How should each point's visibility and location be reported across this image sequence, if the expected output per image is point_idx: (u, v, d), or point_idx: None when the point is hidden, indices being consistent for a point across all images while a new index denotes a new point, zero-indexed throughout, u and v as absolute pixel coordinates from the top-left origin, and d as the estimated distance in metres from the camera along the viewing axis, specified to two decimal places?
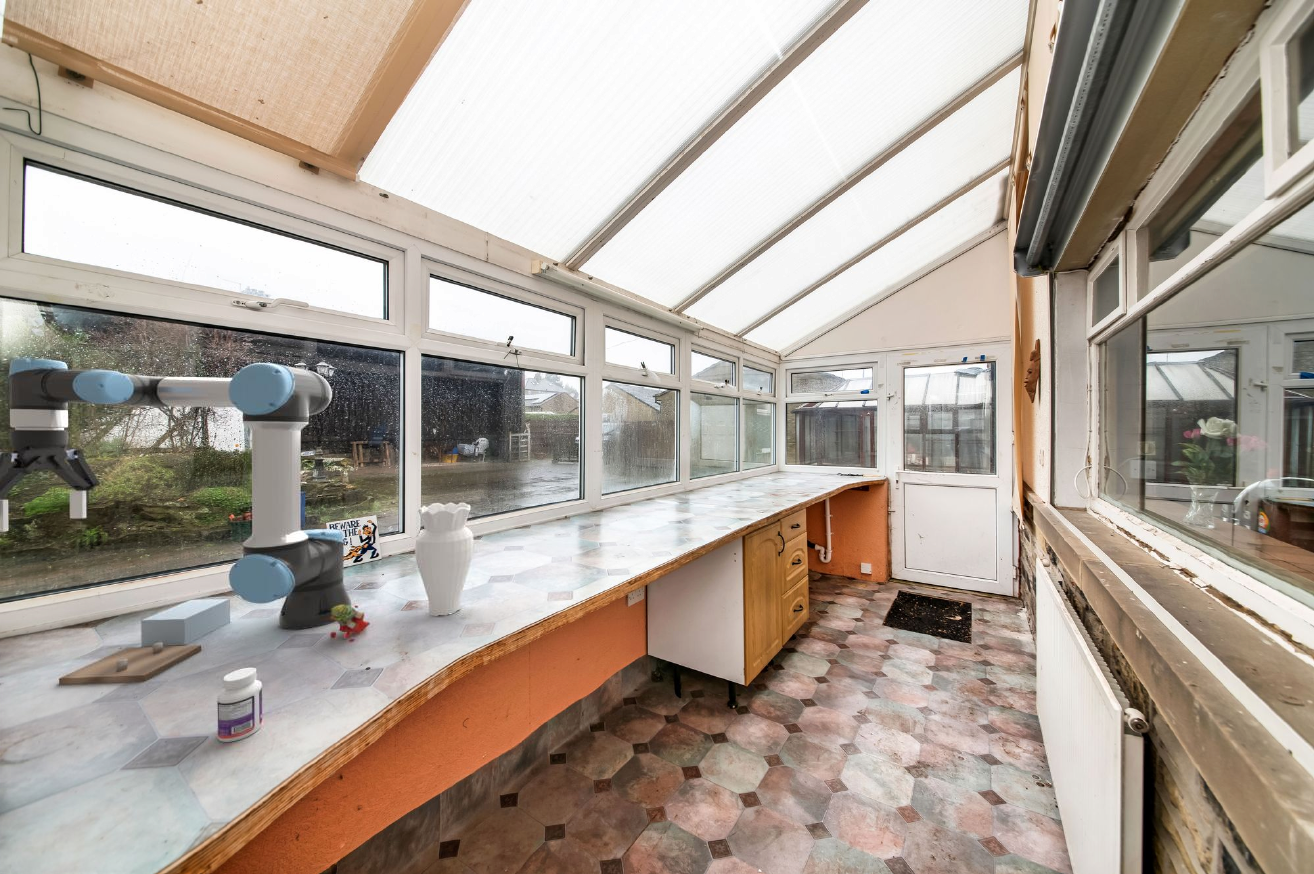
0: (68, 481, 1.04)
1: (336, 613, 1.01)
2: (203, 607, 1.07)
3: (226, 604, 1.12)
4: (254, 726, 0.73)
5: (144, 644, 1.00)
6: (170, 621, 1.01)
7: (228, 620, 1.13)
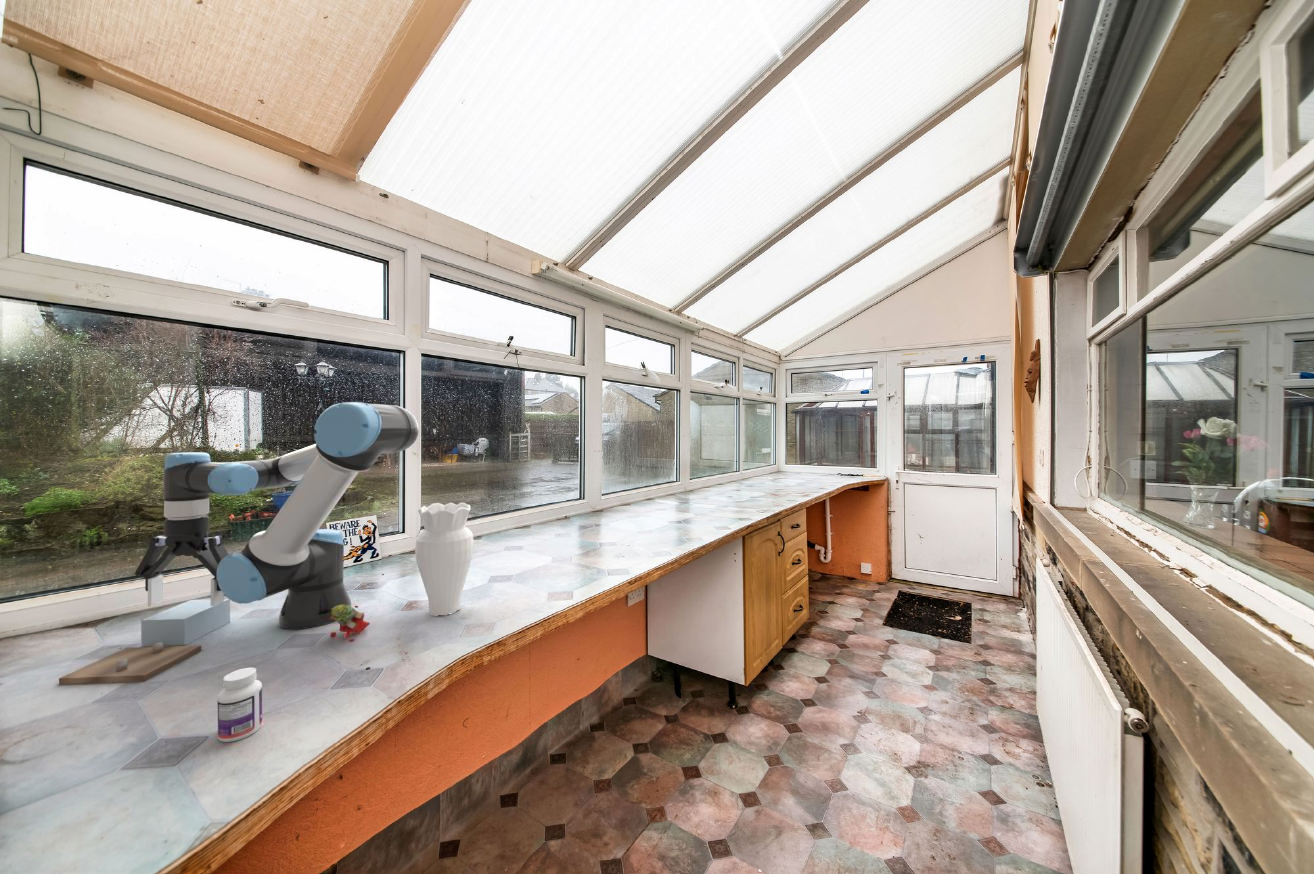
0: None
1: (336, 613, 1.01)
2: (203, 607, 1.07)
3: (226, 604, 1.12)
4: (254, 726, 0.73)
5: (144, 644, 1.00)
6: (170, 621, 1.01)
7: (228, 620, 1.13)
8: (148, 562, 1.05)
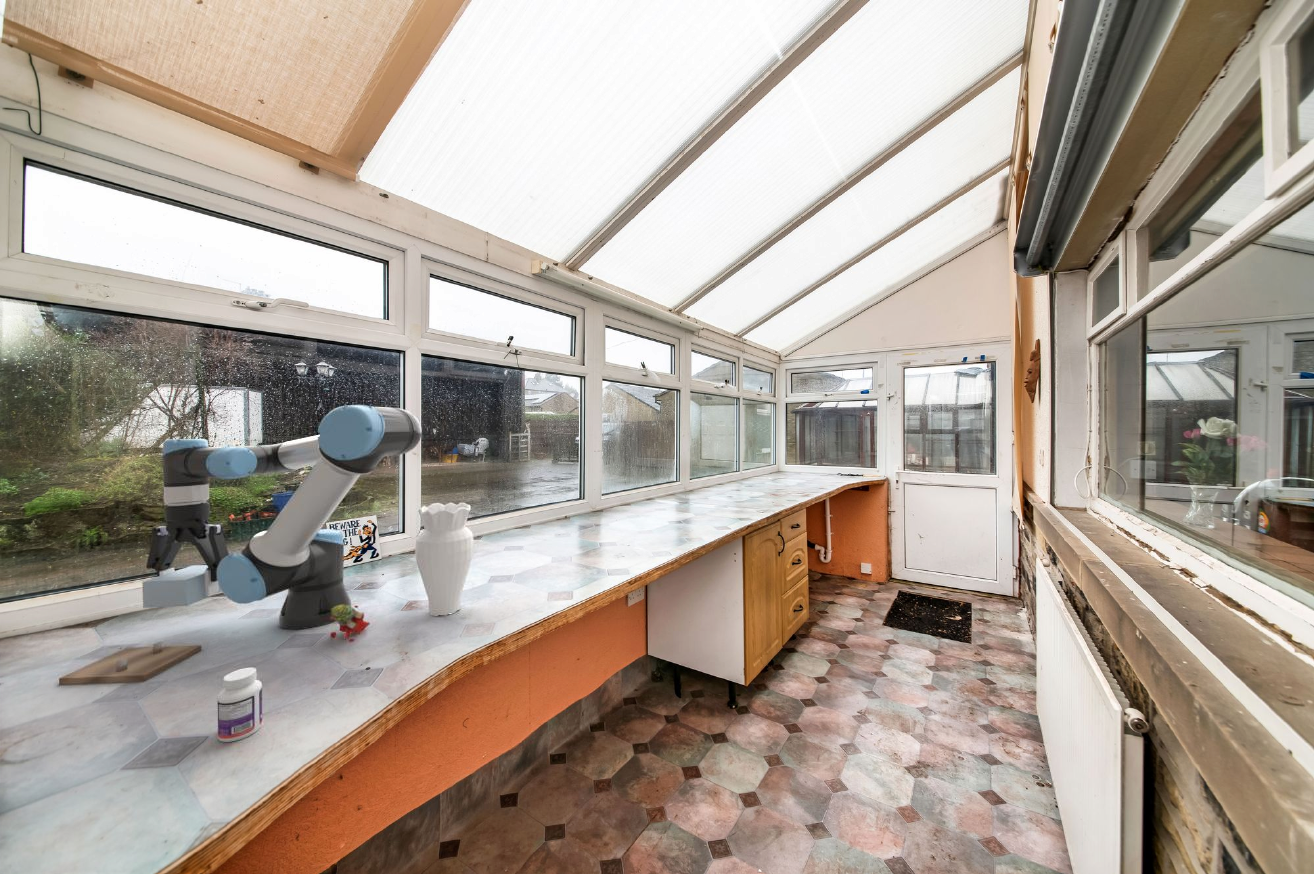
0: None
1: (336, 613, 1.01)
2: (204, 571, 1.07)
3: None
4: (254, 726, 0.73)
5: (146, 606, 1.00)
6: (171, 582, 1.01)
7: None
8: (156, 553, 1.05)
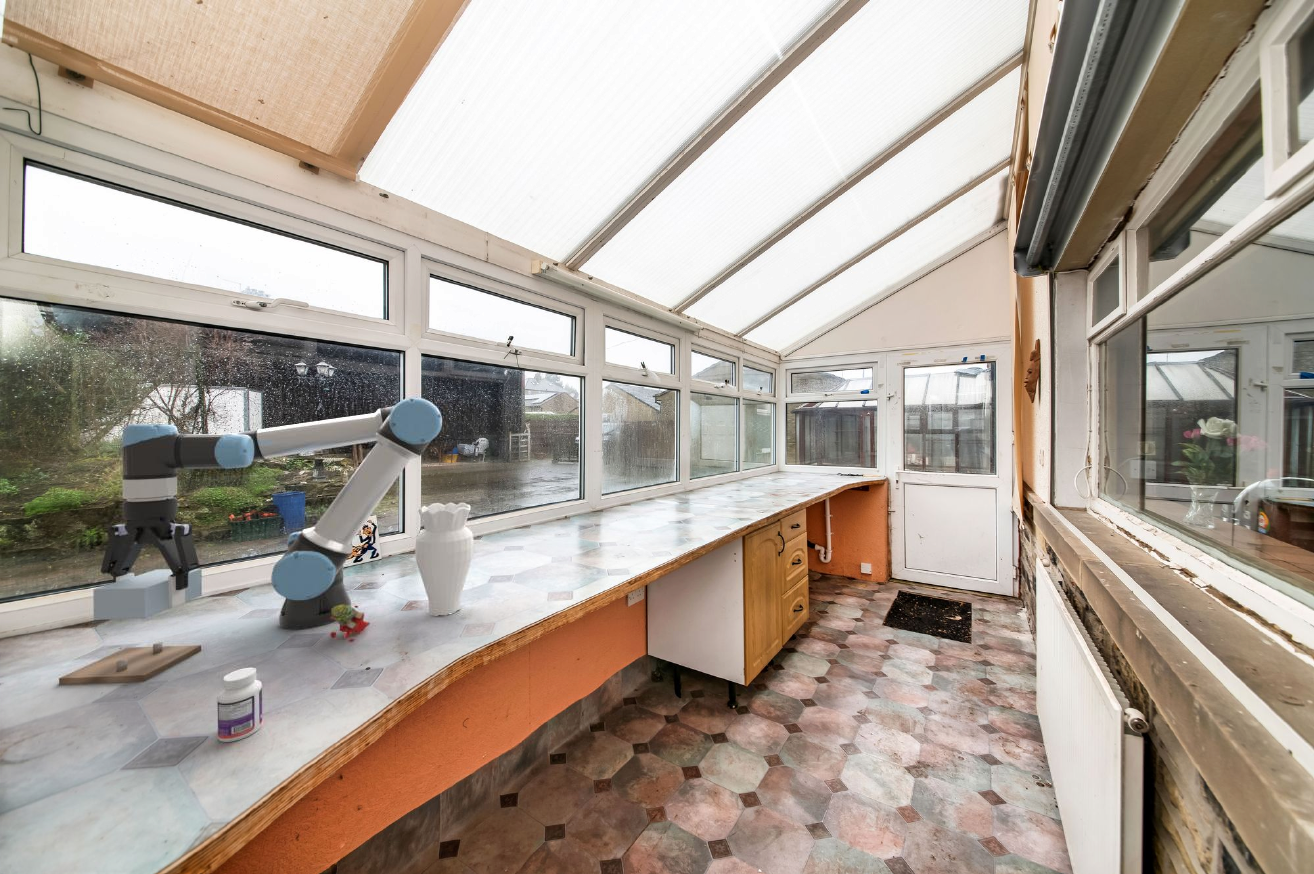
0: None
1: (336, 613, 1.01)
2: None
3: (197, 574, 0.98)
4: (254, 726, 0.73)
5: (97, 617, 0.86)
6: (127, 590, 0.86)
7: (199, 593, 0.98)
8: (113, 556, 0.91)
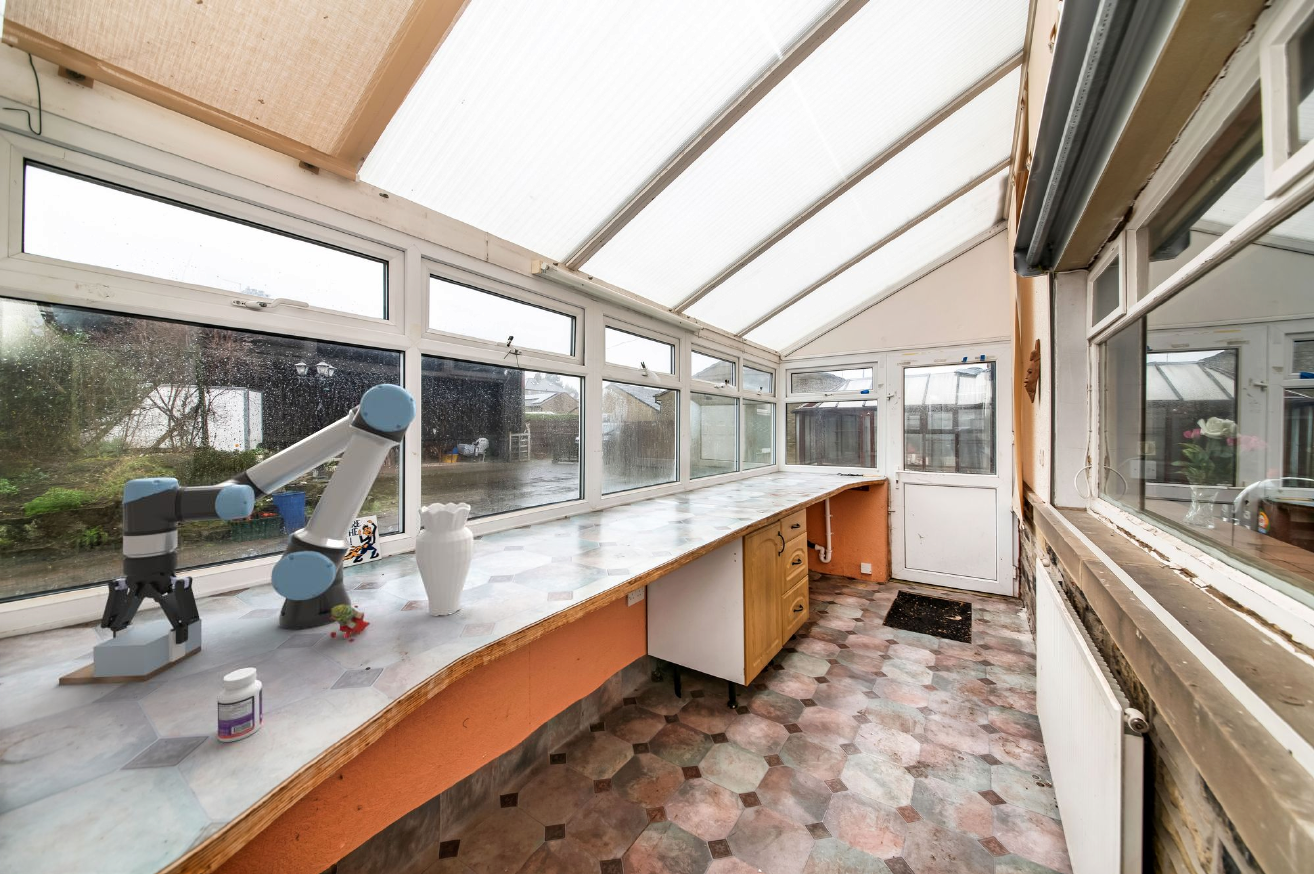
0: None
1: (336, 613, 1.01)
2: (168, 630, 0.93)
3: (197, 625, 0.98)
4: (254, 726, 0.73)
5: (97, 674, 0.86)
6: (127, 647, 0.86)
7: (199, 643, 0.98)
8: (113, 610, 0.91)
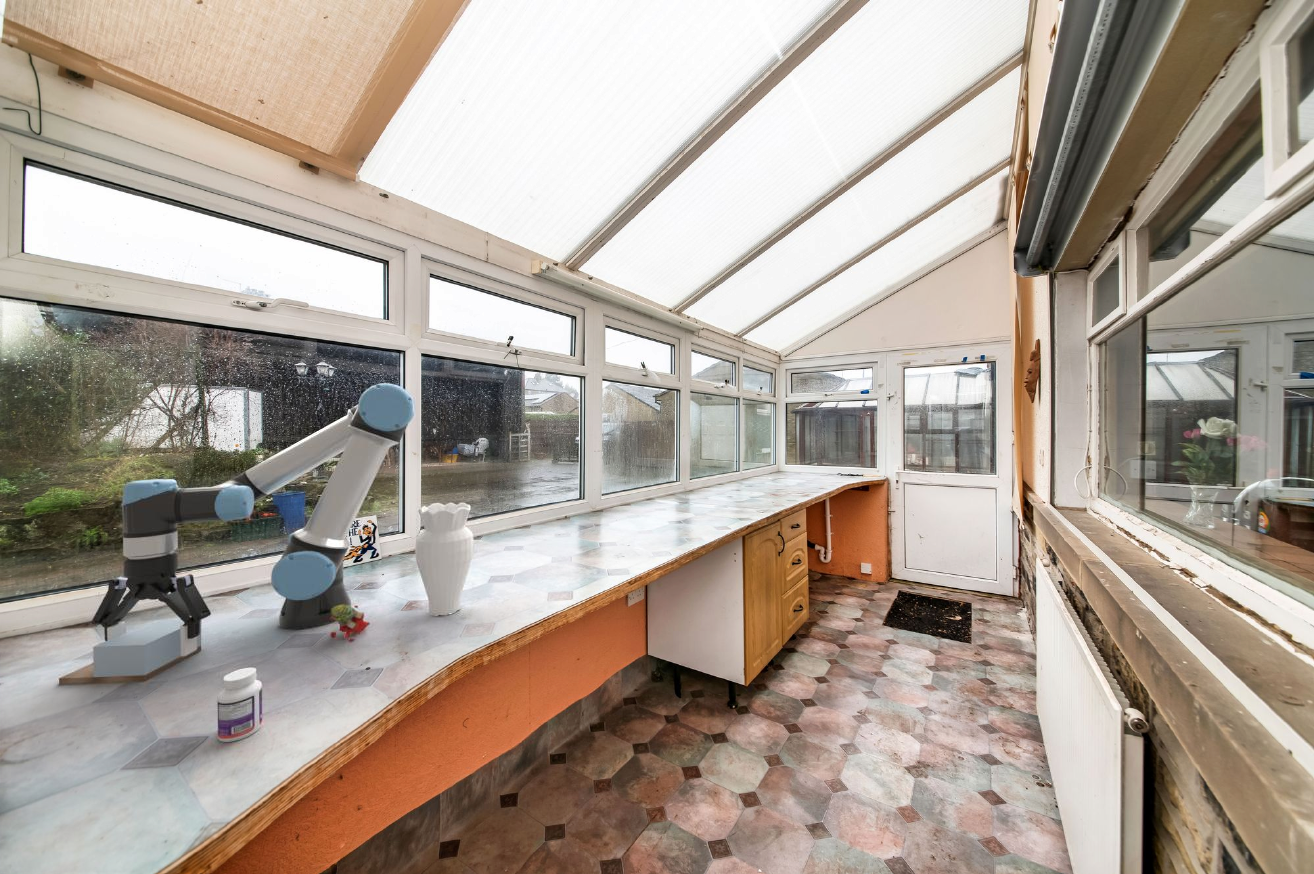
0: None
1: (336, 613, 1.01)
2: (168, 630, 0.93)
3: None
4: (254, 726, 0.73)
5: (97, 674, 0.86)
6: (127, 647, 0.86)
7: (199, 643, 0.98)
8: (107, 608, 0.91)
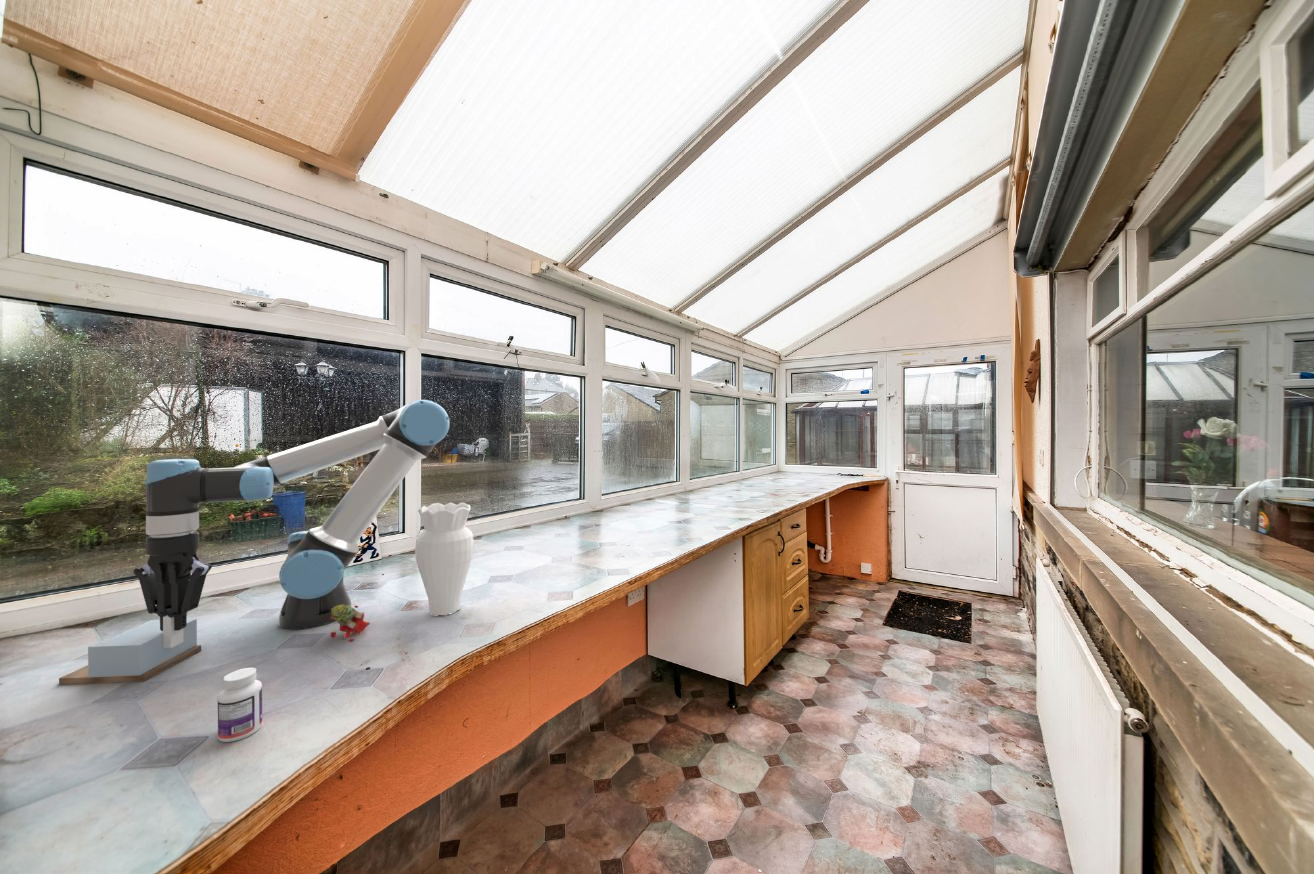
0: None
1: (336, 613, 1.01)
2: None
3: (192, 625, 0.98)
4: (254, 726, 0.73)
5: (92, 675, 0.86)
6: (122, 647, 0.86)
7: (194, 643, 0.98)
8: (152, 594, 0.91)
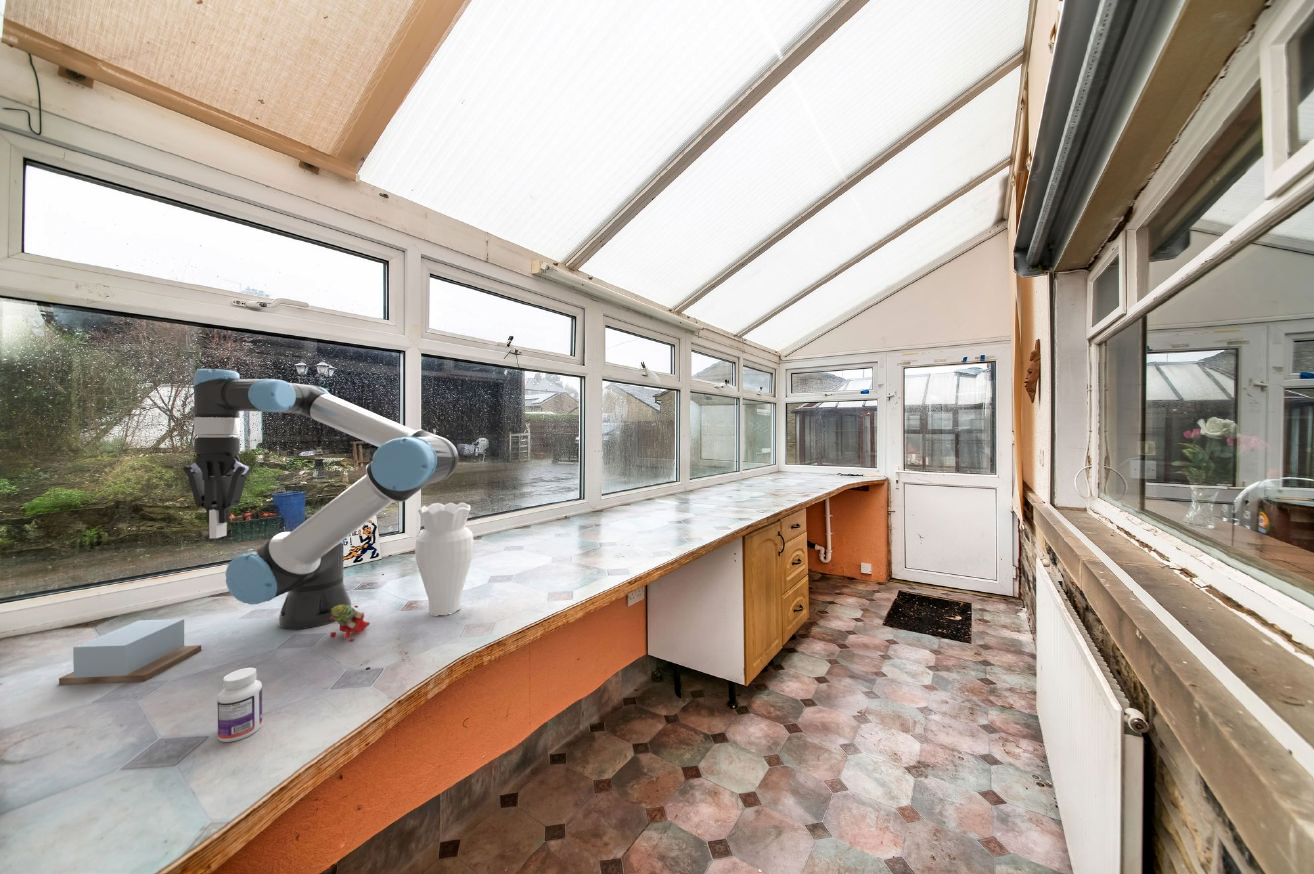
0: None
1: (336, 613, 1.01)
2: (150, 630, 0.93)
3: (180, 625, 0.97)
4: (254, 726, 0.73)
5: (77, 675, 0.86)
6: (107, 648, 0.86)
7: (182, 644, 0.98)
8: (199, 490, 1.02)
